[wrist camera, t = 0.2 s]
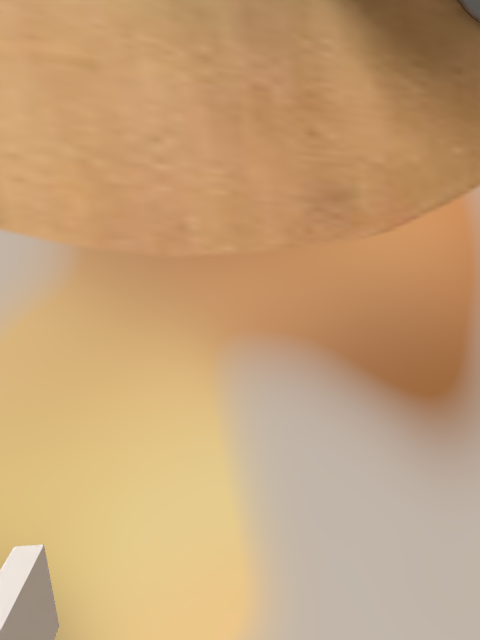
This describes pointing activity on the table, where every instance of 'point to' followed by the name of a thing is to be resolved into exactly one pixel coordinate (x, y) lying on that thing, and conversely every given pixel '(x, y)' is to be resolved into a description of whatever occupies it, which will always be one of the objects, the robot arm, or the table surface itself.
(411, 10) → the table surface
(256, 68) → the table surface
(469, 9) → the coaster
